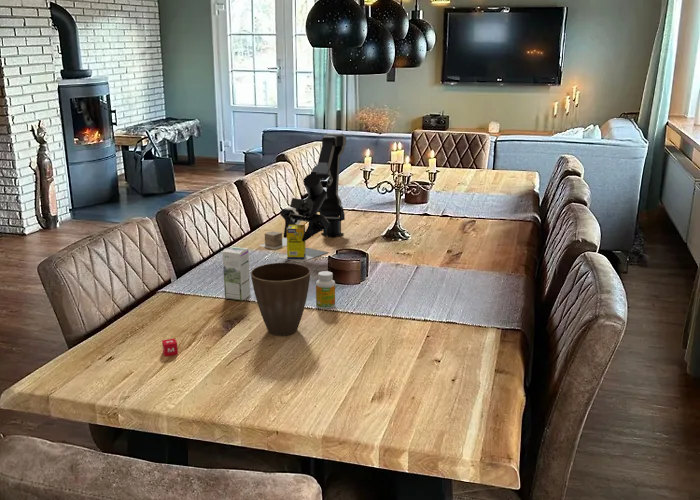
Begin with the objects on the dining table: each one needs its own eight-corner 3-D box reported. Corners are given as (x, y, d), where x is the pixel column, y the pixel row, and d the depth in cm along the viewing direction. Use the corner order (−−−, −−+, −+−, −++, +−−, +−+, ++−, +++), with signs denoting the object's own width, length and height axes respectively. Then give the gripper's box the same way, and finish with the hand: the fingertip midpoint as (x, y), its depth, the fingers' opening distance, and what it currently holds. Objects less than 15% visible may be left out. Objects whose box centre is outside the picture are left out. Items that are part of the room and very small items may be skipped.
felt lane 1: (284, 238, 267) (284, 237, 267) (299, 241, 262) (299, 241, 262) (258, 246, 256) (258, 245, 256) (274, 249, 252) (274, 249, 252)
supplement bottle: (321, 310, 193) (320, 277, 190) (312, 304, 197) (312, 271, 195) (338, 307, 195) (338, 274, 193) (330, 301, 200) (329, 269, 197)
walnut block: (273, 242, 260) (273, 231, 259) (282, 244, 257) (282, 233, 256) (265, 245, 257) (264, 233, 255) (274, 247, 254) (273, 235, 253)
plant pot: (288, 347, 169) (286, 284, 165) (240, 334, 177) (238, 274, 172) (322, 327, 181) (322, 268, 177) (277, 315, 189) (275, 259, 184)
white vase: (281, 232, 275) (280, 203, 272) (289, 228, 282) (289, 199, 279) (298, 234, 272) (297, 204, 269) (306, 230, 279) (306, 201, 276)
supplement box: (304, 259, 239) (303, 228, 236) (287, 259, 239) (286, 228, 236) (305, 254, 245) (305, 224, 242) (288, 254, 245) (288, 224, 242)
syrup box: (251, 294, 205) (249, 247, 201) (241, 301, 200) (239, 252, 196) (233, 292, 207) (231, 245, 203) (224, 299, 201) (221, 250, 198)
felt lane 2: (307, 248, 254) (307, 247, 254) (328, 252, 248) (328, 252, 248) (278, 257, 242) (278, 257, 242) (299, 262, 236) (299, 262, 236)
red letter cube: (165, 356, 164) (164, 345, 163) (163, 351, 166) (162, 340, 165) (178, 354, 165) (177, 343, 164) (175, 349, 167) (174, 338, 167)
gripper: (282, 185, 244) (261, 222, 239) (324, 192, 233) (303, 230, 228) (297, 204, 252) (277, 239, 247) (338, 211, 242) (318, 248, 236)
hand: (293, 239), depth 239 cm, fingers closed on supplement box, 8 cm apart
